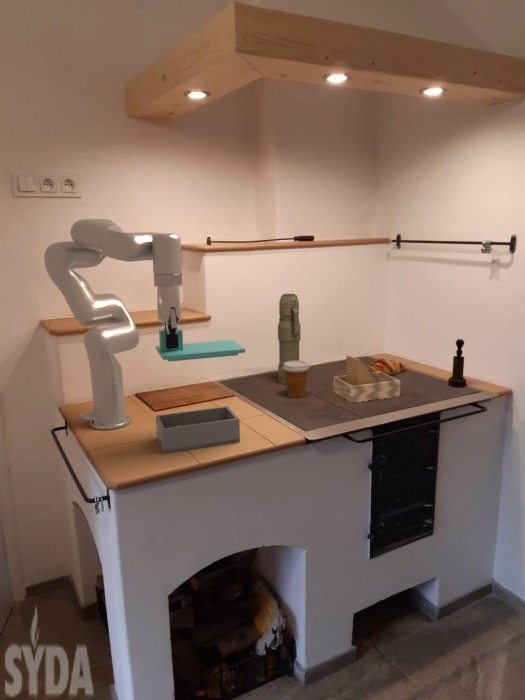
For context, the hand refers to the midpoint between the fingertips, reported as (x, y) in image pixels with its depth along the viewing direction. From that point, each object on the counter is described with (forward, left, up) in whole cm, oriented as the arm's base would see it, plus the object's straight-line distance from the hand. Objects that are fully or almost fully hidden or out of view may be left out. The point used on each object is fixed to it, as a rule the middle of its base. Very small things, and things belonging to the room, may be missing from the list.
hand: (171, 346), depth 146 cm
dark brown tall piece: (+111, +16, -29) cm, 116 cm away
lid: (+8, 0, -3) cm, 9 cm away
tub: (+6, 0, -29) cm, 29 cm away
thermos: (+53, +44, -29) cm, 75 cm away
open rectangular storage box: (+73, +19, -29) cm, 81 cm away
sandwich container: (+74, +18, -29) cm, 82 cm away
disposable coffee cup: (+49, +28, -29) cm, 63 cm away
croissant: (+95, +40, -29) cm, 107 cm away
